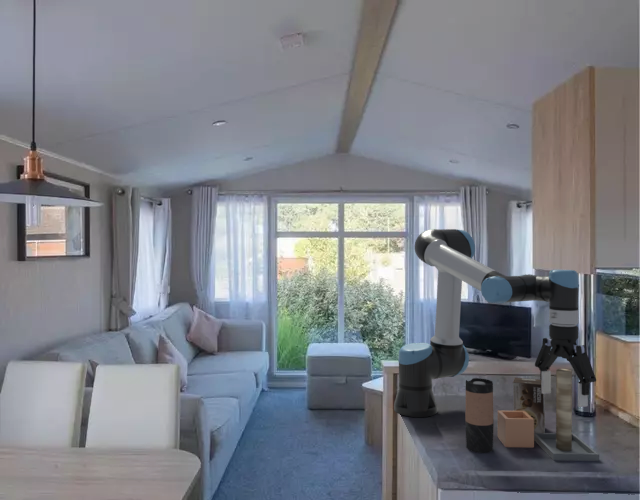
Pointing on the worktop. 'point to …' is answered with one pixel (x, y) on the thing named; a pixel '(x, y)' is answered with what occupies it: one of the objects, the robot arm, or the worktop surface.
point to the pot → (515, 428)
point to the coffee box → (530, 401)
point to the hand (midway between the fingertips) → (563, 399)
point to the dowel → (564, 409)
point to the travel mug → (479, 415)
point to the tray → (576, 454)
